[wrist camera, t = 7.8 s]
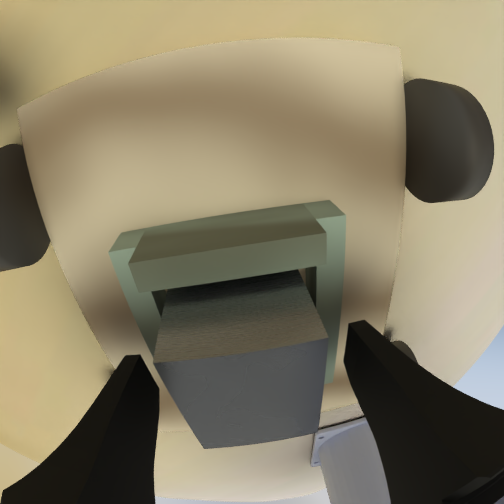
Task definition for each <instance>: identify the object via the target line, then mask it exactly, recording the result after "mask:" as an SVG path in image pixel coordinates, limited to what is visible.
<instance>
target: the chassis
mask: <svg viewBox="0 0 504 504" xmlns="http://www.w3.org/2000/svg"><path fill="white" fill-rule="evenodd" d="M17 113H18V120H19V126H20V132H21V138H22V143H23V146H21V145H18V144H9V145H6V146H4V147H1V148H0V272H1V271H6V270H11V269H16V268H20V267H25V266H30V265H32V264H34V263H36V262H38V261H39V260H40V259H41V258H42V257H43V255H44V254H45V252H46V250H47V248H48V246H49V244H50V241H51V243H52V246H53V248H54V251H55V254H56V256H57V258H58V261H59V263H60V266H61V268H62V270H63V273H64V275H65V277H66V279H67V282H68V284H69V286H70V288H71V290H72V292H73V295H74V297H75V299H76V301H77V303H78V305H79V307H80V309H81V311H82V313H83V315H84V317H85V319H86V320H87V322H88V324H89V326H90V328H91V330H92V331H93V333H94V335H95V337H96V339H97V340H98V342H99V344H100V346H101V347H102V349H103V351H104V352H105V354H106V356H107V357H108V359H109V361H110V362H111V364H112V365H113V367H114V368H115V369H116V368H117V366H118V365H119V363H120V362H121V361H122V359H123V358H124V356H125V355H137V354H141V356H142V358H143V360H144V362H145V364H146V366H147V367H148V369H149V371H150V373H151V375H152V376H153V378H154V380H155V382H156V383H157V385H158V387H159V389H160V414H159V423H158V430H159V431H160V432H186V431H192V430H191V428H190V427H189V425H188V423H187V422H186V420H185V419H184V417H183V415H182V414H181V412H180V411H179V409H178V407H177V406H176V404H175V402H174V400H173V399H172V397H171V395H170V394H169V392H168V390H167V388H166V387H165V385H164V383H163V381H162V379H161V377H160V376H159V374H158V372H157V370H156V368H155V366H154V364H153V359H154V353H155V348H156V342H157V337H158V332H159V327H160V322H161V317H162V312H163V308H164V303H165V298H166V294H167V289H172V288H179V287H186V286H193V285H200V284H207V283H213V282H220V281H227V280H233V279H240V278H246V277H253V276H259V275H265V274H271V273H278V272H284V271H290V270H296V269H298V270H299V272H300V274H301V277H302V279H303V281H304V283H305V285H306V288H307V290H308V292H309V294H310V296H311V299H312V301H313V303H314V305H315V308H316V310H317V312H318V314H319V317H320V319H321V321H322V323H323V326H324V328H325V330H326V332H327V335H328V337H329V340H328V352H327V362H326V372H325V381H324V390H323V398H322V406H321V412H326V411H330V410H334V409H337V408H341V407H345V406H348V405H352V404H355V403H358V400H357V398H356V396H355V394H354V392H353V389H352V387H351V385H350V382H349V378H348V375H347V372H346V369H345V366H344V362H343V359H344V353H345V346H346V339H347V331H348V323H352V322H356V321H360V320H366V321H367V322H368V323H369V324H371V325H372V326H373V327H374V328H375V329H376V330H377V331H379V332H380V333H381V334H382V335H383V333H384V329H385V324H386V320H387V315H388V311H389V306H390V301H391V296H392V290H393V285H394V279H395V273H396V267H397V260H398V253H399V246H400V237H401V229H402V219H403V207H404V194H405V186H406V187H407V189H408V190H409V191H410V192H411V193H412V194H413V195H414V196H415V197H416V198H418V199H419V200H421V201H423V202H427V203H436V202H446V201H456V200H465V199H469V198H471V197H473V196H475V195H476V194H477V193H478V192H479V191H480V190H481V189H482V188H483V187H484V185H485V184H486V182H487V180H488V178H489V175H490V173H491V169H492V165H493V159H494V140H493V134H492V129H491V126H490V122H489V120H488V117H487V115H486V113H485V111H484V109H483V107H482V106H481V104H480V103H479V102H478V100H477V99H476V98H475V97H474V96H473V95H472V94H471V93H470V92H468V91H467V90H465V89H464V88H462V87H459V86H456V85H452V84H448V83H443V82H438V81H433V80H427V79H414V80H411V81H409V82H407V83H406V84H405V85H404V80H403V70H402V61H401V53H400V47H399V46H393V45H387V44H380V43H373V42H365V41H355V40H344V39H330V38H265V39H250V40H239V41H230V42H221V43H214V44H207V45H201V46H195V47H189V48H184V49H179V50H174V51H169V52H165V53H161V54H156V55H152V56H148V57H145V58H141V59H137V60H134V61H130V62H127V63H124V64H120V65H117V66H114V67H111V68H108V69H105V70H102V71H99V72H96V73H94V74H91V75H88V76H86V77H83V78H81V79H78V80H76V81H73V82H71V83H68V84H66V85H64V86H61V87H59V88H57V89H55V90H52V91H50V92H48V93H46V94H44V95H42V96H40V97H38V98H36V99H34V100H32V101H30V102H28V103H26V104H24V105H23V106H21V107H19V108H17ZM391 343H393V344H394V345H395V346H396V347H397V348H399V349H400V350H401V351H402V352H403V353H405V354H406V355H407V356H408V357H410V358H411V359H412V360H413V361H415V362H416V363H417V364H418V362H417V360H416V358H415V355H414V354H413V352H412V350H411V349H410V348H409V347H408V345H406V344H405V343H404V342H402V341H394V342H391ZM101 391H102V390H101Z"/></svg>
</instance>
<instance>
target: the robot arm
mask: <svg viewBox="0 0 504 504" xmlns="http://www.w3.org/2000/svg"><path fill="white" fill-rule="evenodd" d="M343 362H344V366H345V369H346V372H347V375H348V378H349V382H350V385H351V387H352V389H353V392H354V394H355V396H356V398H357V400H358V403H359V405H360V407H361V409H362V411H363V413H364V416H365V417H364V418H361V419H358V420H354V421H351V422H348V423H344V424H340V425H337V426H333V427H329V428H325V429H321V430H318V432H317V433H315V437H314V444H313V451H312V457H311V463H310V464H311V467H316V466H320V465H321V469H322V473H323V476H324V480H325V484H326V488H327V492H328V495H329V499H330V503H331V504H504V410H502V409H499V408H497V407H494V406H491V405H488V404H486V403H484V402H481V401H479V400H477V399H475V398H473V397H471V396H469V395H466V394H464V393H462V392H461V391H459V390H457V389H455V388H453V387H452V386H450V385H448V384H447V383H445V382H443V381H442V380H440V379H439V378H437V377H436V376H434V375H433V374H431V373H430V372H428V371H427V370H426V369H424V368H423V367H421V366H420V365H419V364H417V363H416V362H415V361H413V360H412V359H411V358H410V357H408V356H407V355H406V354H405V353H403V352H402V351H401V350H400V349H399V348H397V347H396V346H395V345H394V344H393V343H391V342H390V341H389V340H388V339H387V338H386V337H384V336H383V335H382V334H381V333H380V332H379V331H377V330H376V329H375V328H374V327H373V326H372V325H371V324H369V323H368V322H367V321H366V320H360V321H356V322H352V323H348V331H347V339H346V346H345V353H344V359H343ZM159 414H160V389H159V387H158V385H157V383H156V382H155V380H154V378H153V376H152V375H151V373H150V371H149V369H148V367H147V366H146V364H145V362H144V360H143V358H142V356H141V354H137V355H125V356H124V358H123V359H122V361H121V362H120V363H119V365H118V366H117V368H116V369H115V371H114V372H113V374H112V376H111V377H110V379H109V380H108V382H107V383H106V385H105V386H104V388H103V389H102V391H101V392H100V394H99V395H98V397H97V398H96V400H95V401H94V403H93V404H92V405H91V407H90V408H89V410H88V411H87V412H86V414H85V415H84V416H83V418H82V419H81V421H80V422H79V423H78V425H77V426H76V427H75V428H74V430H73V431H72V432H71V433H70V434H69V435H68V437H67V438H66V439H65V440H64V441H63V442H62V443H61V444H60V446H59V447H58V448H57V449H56V450H55V451H53V452H52V453H51V454H50V455H49V456H48V457H47V458H46V459H45V460H44V461H43V462H42V463H41V464H40V465H39V466H37V467H36V468H35V469H34V470H33V471H31V472H30V473H29V474H27V475H26V476H25V477H24V478H22V479H21V480H19V481H18V482H16V483H14V484H13V485H11V486H10V487H8V488H6V489H5V490H3V492H2V497H1V503H0V504H155V494H154V459H155V449H156V440H157V432H158V423H159Z"/></svg>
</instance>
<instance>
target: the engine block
mask: <svg viewBox="0 0 504 504" xmlns="http://www.w3.org/2000/svg"><path fill="white" fill-rule="evenodd" d="M328 340H329V337H328V335H327V332H326V330H325V328H324V326H323V323H322V321H321V319H320V317H319V314H318V312H317V310H316V308H315V305H314V303H313V301H312V299H311V296H310V294H309V292H308V290H307V288H306V285H305V283H304V281H303V279H302V277H301V274H300V272H299V270H298V269H296V270H290V271H284V272H278V273H271V274H265V275H259V276H253V277H246V278H240V279H233V280H227V281H220V282H213V283H207V284H200V285H193V286H186V287H179V288H172V289H167V294H166V298H165V303H164V308H163V312H162V317H161V322H160V327H159V332H158V337H157V342H156V348H155V353H154V359H153V364H154V366H155V368H156V370H157V372H158V374H159V376H160V377H161V379H162V381H163V383H164V385H165V387H166V388H167V390H168V392H169V394H170V395H171V397H172V399H173V400H174V402H175V404H176V406H177V407H178V409H179V411H180V412H181V414H182V415H183V417H184V419H185V420H186V422H187V423H188V425H189V427H190V428H191V430H192V431H193V433H194V434H195V436H196V437H197V439H198V440H199V442H200V443H201V445H202V446H203V448H204V449H209V448H222V447H233V446H242V445H250V444H258V443H265V442H271V441H277V440H283V439H288V438H294V437H299V436H303V435H308V434H312V433H317V432H318V427H319V420H320V413H321V406H322V398H323V390H324V381H325V372H326V362H327V352H328Z"/></svg>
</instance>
